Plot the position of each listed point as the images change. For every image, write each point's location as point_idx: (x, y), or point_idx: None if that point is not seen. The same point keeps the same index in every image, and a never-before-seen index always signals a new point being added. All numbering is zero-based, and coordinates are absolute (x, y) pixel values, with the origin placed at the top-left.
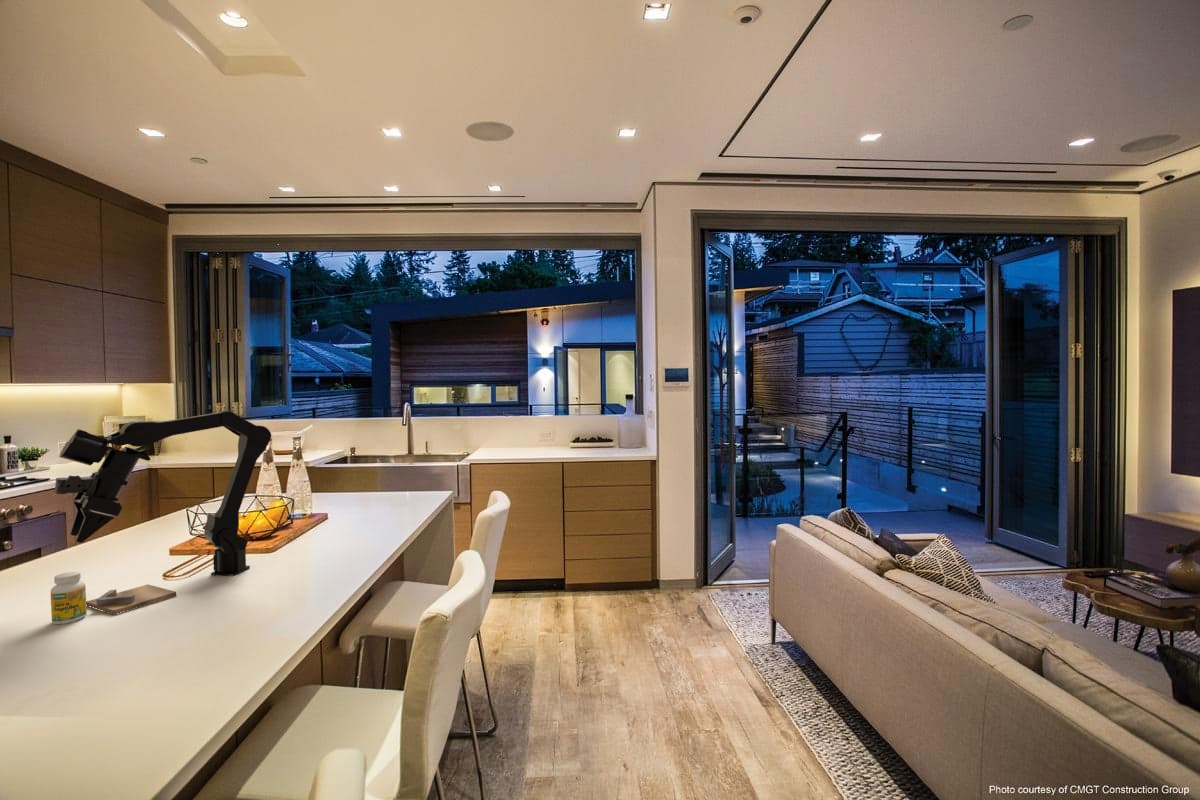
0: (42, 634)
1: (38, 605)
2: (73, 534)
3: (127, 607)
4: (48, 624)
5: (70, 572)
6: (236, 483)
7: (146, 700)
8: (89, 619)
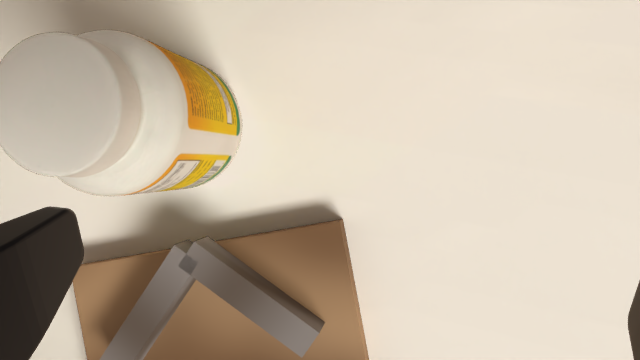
0: (72, 16)
1: (589, 66)
2: (636, 299)
3: (84, 321)
4: (193, 52)
5: (95, 129)
6: None
7: None
8: None
